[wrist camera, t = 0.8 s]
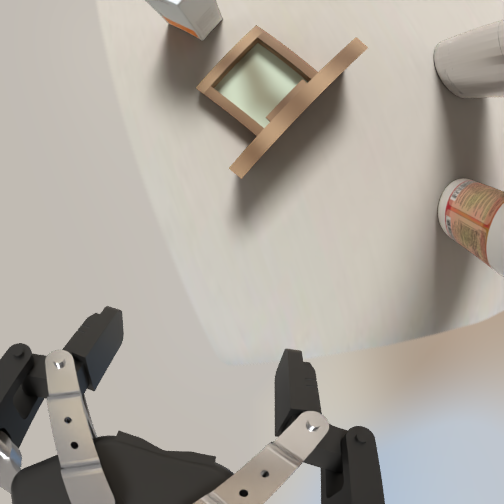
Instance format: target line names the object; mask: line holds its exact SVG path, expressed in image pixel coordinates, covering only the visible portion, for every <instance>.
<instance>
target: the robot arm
mask: <svg viewBox="0 0 504 504" xmlns="http://www.w3.org/2000/svg"><path fill="white" fill-rule="evenodd" d="M434 62H435V67H436V70H437V73H438V75H439V77H440V79H441V80H442V82H443V83H444V85H445V86H446V87H447V88H448V89H449V90H450V91H451V92H452V93H453V94H455V95H457V96H458V97H461V98H484V97H504V20H501V21H498V22H495V23H491V24H488V25H485V26H482V27H479V28H476V29H473V30H470V31H468V32H465V33H462V34H459V35H456V36H454V37H451V38H449V39H446V40H444V41H442V42H440V43H439V44H438V45H437V47H436V48H435V52H434ZM122 341H123V320H122V311H121V310H118V309H115V308H112V307H109V306H107V307H105V308H104V310H103V311H102V312H101V314H97V313H95V314H93V315H91V316H90V317H88V318H87V319H86V320H85V321H84V323H83V324H82V326H81V327H80V328H79V329H78V331H77V332H76V333H75V334H74V335H73V337H72V338H71V339H70V340H69V342H68V343H67V344H66V346H65V347H64V348H63V349H62V350H55V351H52V352H51V353H49V354H48V355H47V356H44V355H37V354H32V352H31V350H30V348H29V347H28V346H27V345H25V344H22V343H19V344H14V345H12V346H11V347H10V348H9V349H8V350H7V351H6V353H5V354H4V356H3V357H2V358H1V359H0V487H2V488H3V489H4V490H6V491H7V492H9V493H10V494H11V497H12V504H263V503H265V501H267V500H268V499H269V498H270V497H271V496H272V495H273V494H274V493H275V492H276V491H277V490H278V489H279V488H280V487H281V485H283V483H284V482H285V481H286V480H287V479H288V478H289V477H290V476H291V475H292V474H293V473H294V472H295V470H296V469H297V468H298V467H299V466H300V465H301V464H302V462H305V463H307V464H311V465H314V466H317V467H320V468H321V504H385V501H384V494H383V486H382V479H381V472H380V465H379V460H378V453H377V447H376V442H375V437H374V435H373V433H372V432H371V431H370V430H369V429H367V428H365V427H362V426H355V427H352V428H350V429H349V430H348V431H347V430H344V429H340V428H337V427H335V426H332V425H330V424H329V423H328V420H327V419H326V417H325V416H323V415H322V413H321V407H320V400H319V393H318V388H317V381H316V374H315V370H314V368H313V367H312V365H311V364H310V363H309V362H303V358H302V352H301V351H299V350H292V349H285V351H284V353H283V356H282V358H281V361H280V363H279V366H278V368H277V371H276V376H275V436H278V438H277V439H276V440H275V441H274V442H271V443H269V444H268V445H267V446H266V447H264V448H263V449H262V450H261V451H260V452H259V453H258V454H257V455H256V456H255V457H253V458H252V459H251V460H250V461H249V462H248V463H247V464H245V465H244V466H243V467H242V468H241V469H240V470H239V471H237V472H236V473H235V474H233V473H232V472H231V471H230V470H228V469H227V468H226V467H224V466H222V465H220V464H218V463H215V459H216V457H215V456H209V455H205V454H200V453H195V452H179V451H165V450H162V449H160V448H158V447H156V446H154V445H152V444H151V443H149V442H147V441H145V440H144V439H141V438H139V437H136V436H133V435H130V434H127V433H124V432H121V431H118V434H117V436H101V437H97V435H96V432H95V430H94V427H93V424H92V420H91V417H90V414H89V410H88V407H87V403H86V399H85V395H84V393H85V391H86V389H90V390H92V391H95V389H96V388H97V386H98V384H99V382H100V380H101V378H102V377H103V375H104V373H105V371H106V370H107V368H108V366H109V365H110V363H111V361H112V359H113V357H114V356H115V354H116V353H117V351H118V349H119V348H120V346H121V344H122ZM44 398H47V405H48V411H49V416H50V422H51V427H52V432H53V437H54V441H55V445H56V450H57V454H58V455H56V456H53V457H51V458H49V459H46V460H44V461H41V462H39V463H36V464H34V465H31V466H29V467H26V468H24V469H22V470H21V468H20V467H21V460H22V455H21V452H20V450H19V447H20V445H21V443H22V440H23V438H24V436H25V434H26V432H27V430H28V428H29V426H30V424H31V422H32V420H33V418H34V416H35V414H36V413H37V411H38V409H39V407H40V405H41V403H42V402H43V400H44Z"/></svg>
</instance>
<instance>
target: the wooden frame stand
mask: <svg viewBox="0 0 504 504" xmlns="http://www.w3.org/2000/svg"><path fill="white" fill-rule="evenodd" d="M367 48H368V47H367V46H366V45H364V44H363V43H362V42H361V41H360V40H359V39H358V38H357V37H356V38H355V39H354V40H352V41H351V42H350V43H349V44H348V45H347V46H346V47H345V48H344V49H343V50H341V51H340V52H339V53H338V54H337V55H336V56H335V57H334V58H333V59H332V60H331V61H330V62H329V63H328V64H327V65H326V66H324V67H323V68H322V69H321V70H320V71H319V72H317V71H316V70H315V69H314V68H312V67H311V66H310V65H309V64H308V63H306V62H305V61H304V60H303V59H301V58H300V57H299V56H298V55H296V54H295V53H294V52H293V51H291V50H290V49H289V48H287V47H286V46H285V45H283V44H282V43H281V42H279V41H278V40H277V39H275V38H274V37H273V36H271V35H270V34H268V33H267V32H265V31H264V30H263V29H261V28H260V27H258V26H257V25H256V26H255V27H254V28H253V29H252V30H251V31H250V32H248V33H247V34H246V35H245V36H244V37H243V38H242V39H241V40H240V41H239V42H238V43H237V44H236V45H235V46H234V47H233V48H232V49H231V50H230V51H229V52H228V53H227V54H226V55H225V56H224V57H223V58H222V59H221V60H220V61H219V63H218V64H217V65H216V66H215V67H214V68H213V69H212V70H211V71H210V72H209V73H208V74H207V76H206V77H205V78H204V79H203V80H202V81H201V82H200V83H199V85H198V86H197V87H196V89H197V90H199V91H200V92H202V93H203V94H204V95H206V96H207V97H208V98H210V99H211V100H212V101H214V102H215V103H216V104H217V105H219V106H220V107H221V108H223V109H224V110H225V111H227V112H228V113H229V114H230V115H232V116H233V117H234V118H235V119H237V120H238V121H239V122H240V123H242V124H243V125H244V126H245V127H247V128H248V129H249V130H250V131H251V132H253V133H254V134H255V135H256V136H257V137H256V138H255V139H254V140H253V141H252V142H251V144H250V145H249V146H248V147H247V148H246V149H245V150H244V151H243V153H242V154H241V155H240V156H239V157H238V158H237V159H236V161H235V162H234V163H233V164H232V165H231V166H230V168H229V169H230V170H232V171H233V172H234V173H235V174H236V175H238V176H239V177H240V178H241V179H242V178H243V176H244V175H245V174H246V173H247V172H248V171H249V170H250V169H251V167H252V166H253V165H254V164H255V163H256V162H257V161H258V160H259V158H260V157H261V156H262V155H263V154H264V153H265V152H266V151H267V150H268V149H269V147H270V146H271V145H272V144H273V143H274V142H275V141H276V140H277V139H278V138H279V137H280V135H281V134H282V133H283V132H284V131H285V130H286V129H287V128H288V127H289V126H290V125H291V124H292V123H293V122H294V121H295V120H296V118H297V117H298V116H299V115H300V114H301V113H302V112H303V111H304V110H305V109H306V108H307V107H308V106H309V105H310V104H311V103H312V102H313V101H314V100H315V99H316V98H317V97H318V96H319V95H320V94H321V93H322V92H323V91H324V90H325V89H326V88H327V87H328V86H329V85H330V84H331V83H332V82H333V81H334V80H335V79H336V78H337V77H338V76H339V75H340V74H341V73H342V72H343V71H344V70H345V69H346V68H347V67H348V66H349V65H350V64H351V63H352V62H353V61H354V60H356V59H357V58H358V57H359V56H360V55H361V54H362V53H363V52H364V51H365V50H366V49H367Z"/></svg>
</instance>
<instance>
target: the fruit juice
mask: <svg viewBox="0 0 504 504" xmlns="http://www.w3.org/2000/svg"><path fill="white" fill-rule="evenodd" d="M438 218H439V222H440V225H441V227H442V229H443V231H444V232H445V233H446V234H447V235H448V236H449V237H450V238H451V239H453V240H454V241H456V242H457V243H459V244H460V245H461V246H463V247H464V248H466V249H467V250H468V251H470V252H471V253H472V254H474V255H475V256H476V257H478V258H479V259H480V260H482V261H483V262H484V263H486V264H487V265H488V266H490V267H491V268H492V269H493V270H494V271H496V272H497V273H498V274H500V275H501V276H503V277H504V192H503V191H501V190H498V189H495V188H493V187H490V186H487V185H485V184H482V183H479V182H476V181H473V180H470V179H457V180H455V181H453V182H451V183H450V184H449V185H448V186H447V187H446V188H445V190H444V191H443V193H442V195H441V198H440V201H439V206H438Z"/></svg>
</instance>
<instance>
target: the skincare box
mask: <svg viewBox="0 0 504 504" xmlns="http://www.w3.org/2000/svg"><path fill="white" fill-rule="evenodd" d="M145 1H146V2H147V3H148V4H150V5H151V6H152V7H153V8H154V9H155V10H156V11H157V12H158V13H159V14H160V15H161V16H162V17H163V18H164V19H165V21H166V22H167V23H169V24H171V25H173V26H175V27H177V28H180V29H182V30H184V31H186V32H188V33H189V34H191V35H193V36H195V37H197V38H198V39H200V40H204V39H205V38H206V37H207V35H208V34H209V33H210V32H211V31H212V30H213V29H214V28H215V26H216V25H217V24H218V23H219V22H220V21H221V20H222V19H223V18H222V15H221V13H220V10H219V8H218V5H217V2H216V0H145Z"/></svg>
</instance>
